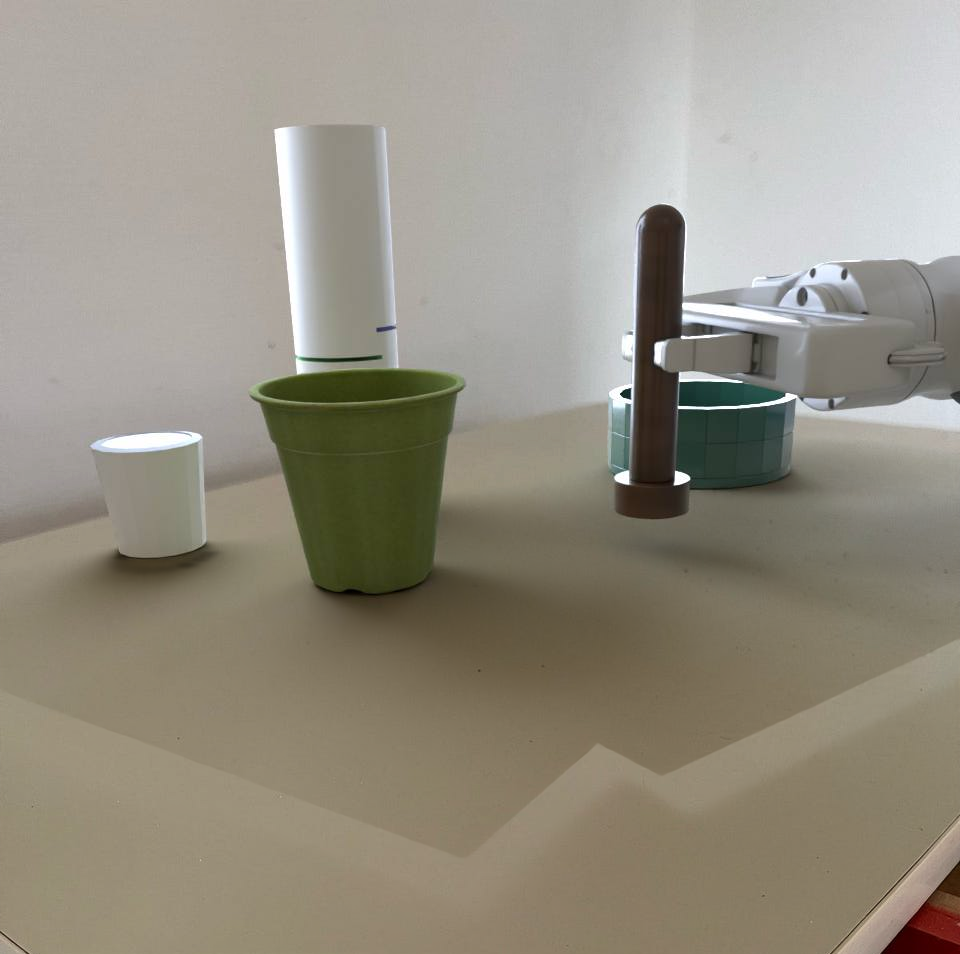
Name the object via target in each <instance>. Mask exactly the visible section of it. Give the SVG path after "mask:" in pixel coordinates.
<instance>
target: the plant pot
mask: <svg viewBox="0 0 960 954" xmlns="http://www.w3.org/2000/svg"><path fill="white" fill-rule="evenodd" d="M466 386H467V380H466V379H465V377H463V376H462V375H460V374H455V373H453V372H452V373H451V372H448V371H442V370H434V369H424V368H411V367H410V368H409V367H408V368H406V367H399V368H359V369H341V370H328V371H319V372H310V373H300V374H297V373H295V374H289V375H283V376H282V375H281V376H279V377H274V378H270V379H267V380H264V381H261V382H259V383H256V384H254V385H252V386H251V387H250V388H249V390H248V394H249V397H250V398H251V399H252V400H253V401H254V402H257V403H259V405H260V409H261V411H262V415H263V418H264V421H265V425H266V428H267V432H268V435H269V439H270V440H271V442H272V443H273V444H275V449H276V452H277V456H278V459H279V463H280V467H281V470H282V474H283V478H284V482H285V484H286V485H285V486H286V489H287V493H288V496H289V500H290V503H291V506H292V507H291V508H292V511H293V515H294V520H295V523H296V526H297V531H298V534H299V537H300V541H301V545H302V548H303V553H304V557H305V560H306V564H307V568H308V572H309V576H310V578H311V580H312V581H313V583H315V584H316V586H319V587H320V588H323V589H326V590H327V591H331V592H334V593H343V592H344V591H346V590H356V591H359V592H362V593H364V594H372V595H379V594H380V595H381V594H389V593H392V592H394V591H399V590H403V589H410V588H412V587H414V586H416V585H418V584H420V583H422V582H423V581H425V580H426V579H427V577H428V575H429V573H430V572H432V571H433V570H434V564H435V555H436V547H437V538H438V537H437V536H438V528H439V521H440V520H439V519H440V511H441V503H442V493H443V486H444V485H443V484H444V475H445V467H446V459H447V450H448V444H449V435H450V434H451V433H452V431H453V428H454V421H455V413H456V406H457V401H458V393H461V391H463V390H464V388H466Z"/></svg>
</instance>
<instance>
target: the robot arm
mask: <svg viewBox="0 0 960 954" xmlns="http://www.w3.org/2000/svg"><path fill="white" fill-rule="evenodd" d="M632 341H633V329H631V330H630V329H629V330H627V331H625V332H624V333H623V335H622V337H621V357H622V359H623V360H624V361H626V362H630V363H632ZM654 353H655V355H654V360H653V363H654V366H655V367H656V368H658V369H660V370H663V371H667V372H670V373H675V372H680V373H686V372H695V373H696V372H697V373H704V374H708V375H712V376H716V377H719V378H723V379H726V380H733V381H739V382H743V383H747V384H751V385H755V386H759V387H763V388H767V389H771V390H775V391H779V392H783V393H787V394H791V395H795V396H797V398H798V399H799V400H800V401H801V402H802V403H803V404H804V405H805V406H807V407H809V408H810V409H812V410H814V411H818V412H833V411H834V412H835V411H844V410H845V411H846V410H854V409H862V408H863V409H864V408H873V407H874V408H875V407H884V406H885V407H886V406H893V405H898V404H900V403H903V402H905V401H908V400H910V399H912V398H914V397H915V398H916V397H921V398H924V399H928V400H934V401H935V400H936V401H948V400H949V401H950V400H954V402H956V403H957V404H959V405H960V255H950V256H943V257H939V258H936V259H933V260H931V261H929V262H926V263H918V262H915V261H912V260H909V259H905V258H881V259H863V260H858V259H857V260H840V261H839V260H838V261H826V262H822V263H819V264H817V265H815V266H814V267H810V268H805V269H803V270H800V271H798V272H796V273H793V274H785V275H769V276H768V275H767V276H762V277H756V278H754V279H753V281H752V286H750V287H739V288H730V289H723V290H715V291H710V292H709V291H708V292H701V293H697V294H691V295H683V316H682V336H676V337H662V338H659V339H657V340H656V342H655V343H654Z"/></svg>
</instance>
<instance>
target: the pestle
mask: <svg viewBox="0 0 960 954" xmlns="http://www.w3.org/2000/svg"><path fill="white" fill-rule="evenodd" d="M634 233H635V236H634V269H633V271H634V272H633V273H634V274H633V307H632V309H633V311H632V330H633V341H632V362H631V381H630V383H631V384H630V385H631V415H630V452H629V471H626V472H622V473H619V474H617V475H614V478H613V500H612V501H613V511H614V512H615V513H616V514H618V515H620V516H623V517H625V518H631V519H636V520H637V519H639V520H666V519H674V518H678V517H681V516H682V517H683V516H684V515H686V514H687V513H688V512H689V510H690V491H691V488H690V477H689V476H688V475H686V474H684V473H681V472H677V471H676V450H677V428H678V405H679V383H680V380H681V378H680V377H681V372H675V373H670V372H667V371H663V370H660V369H658V368H656V367H655V366H654V363H653V360H654V355H655V353H654V343H655V342H656V340H657V339H659V338H662V337H676V336H682V316H683V296H684V294H685V293H684V289H685V268H686V250H687V249H686V248H687V247H686V245H687V222H686V219H685V217H684V215H683V213H682V212H681V211H680V210H679V209H678V208H677V207H675V206H673V205H672V204H668V203H657V204H654V205H651V206H649V207H648V208H646V209H645V210H644V211H643V212H642V213H641V214H640V216H639V217H638V219H637V221H636V225H635V231H634Z"/></svg>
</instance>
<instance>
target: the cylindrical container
mask: <svg viewBox="0 0 960 954" xmlns="http://www.w3.org/2000/svg"><path fill="white" fill-rule="evenodd" d="M386 130H387V129H386V127H384V126H380V125H372V124H348V123H347V124H308V125H294V126H293V125H292V126H286V127H280V128H276V129H274V137H275V148H276V158H277V170H278V179H279V180H278V181H279V191H280V201H281V202H280V203H281V214H282V225H283V234H284V235H283V236H284V245H285V246H284V247H285V255H286V256H285V257H286V266H287V267H286V268H287V277H288V278H287V279H288V289H289V290H288V291H289V298H290V310H291V323H292V332H293V343H294V353H295V356H296V357H295V365H296V374H300V373H310V372H319V371H328V370H341V369H359V368H400V365H399V348H398V347H399V345H398V329H397V327H396V326H395V325H397V312H396V311H397V310H396V296H395V295H396V294H395V276H394V275H395V274H394V255H393V239H392V222H391V221H392V220H391V203H390V188H389V187H390V185H389V168H388V166H389V165H388V150H387V149H388V148H387V131H386Z"/></svg>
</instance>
